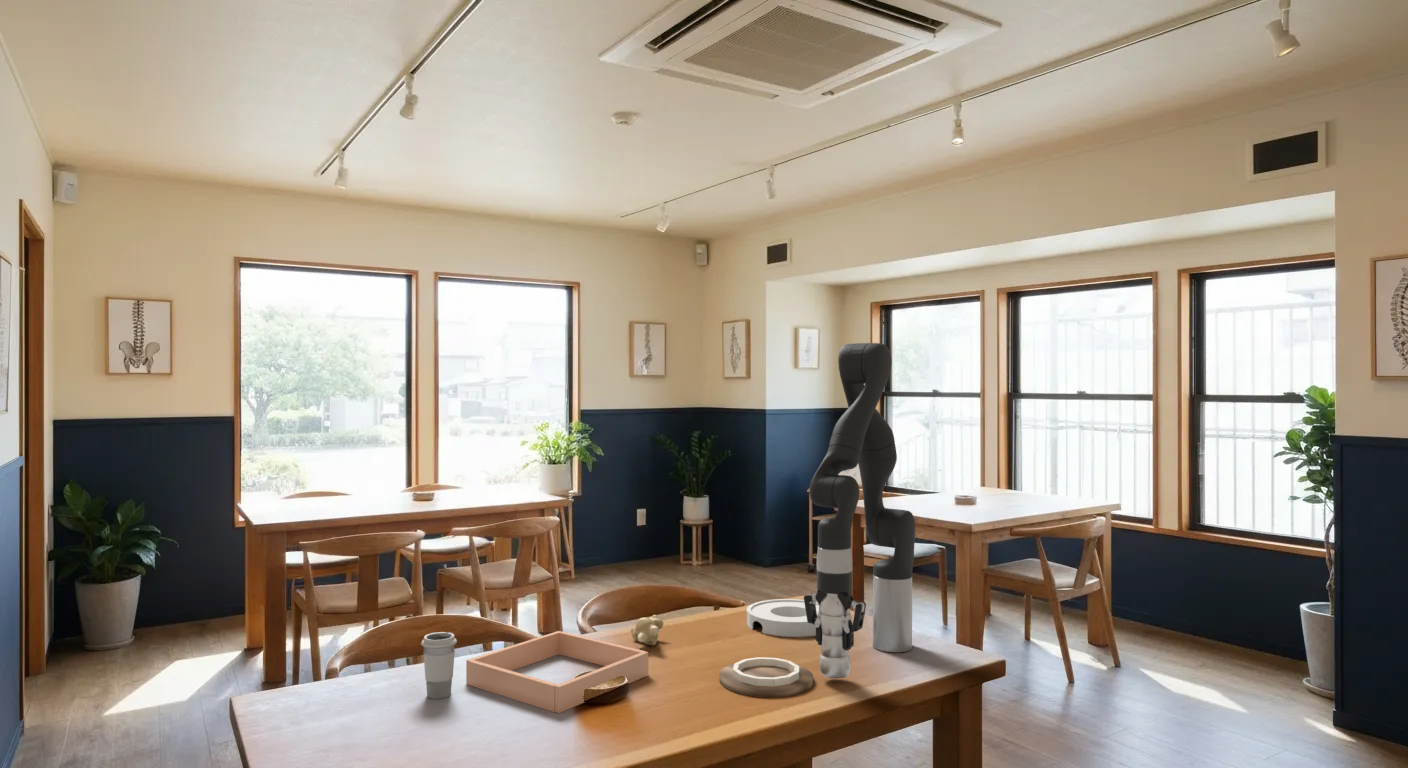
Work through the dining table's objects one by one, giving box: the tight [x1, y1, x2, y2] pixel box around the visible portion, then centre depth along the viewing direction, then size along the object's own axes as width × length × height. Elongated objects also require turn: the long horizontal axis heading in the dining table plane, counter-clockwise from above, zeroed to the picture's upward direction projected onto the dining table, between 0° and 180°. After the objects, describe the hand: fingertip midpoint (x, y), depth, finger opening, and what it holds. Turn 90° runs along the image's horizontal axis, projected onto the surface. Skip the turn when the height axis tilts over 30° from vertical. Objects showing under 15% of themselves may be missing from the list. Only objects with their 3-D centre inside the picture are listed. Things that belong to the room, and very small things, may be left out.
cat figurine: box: [630, 614, 664, 646], centre depth 216 cm, size 8×7×12 cm
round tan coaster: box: [718, 662, 814, 698], centre depth 191 cm, size 20×20×1 cm
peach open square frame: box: [465, 630, 649, 714], centre depth 191 cm, size 27×27×5 cm
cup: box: [420, 631, 458, 700], centre depth 182 cm, size 7×7×12 cm
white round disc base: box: [746, 598, 820, 638], centre depth 235 cm, size 23×23×4 cm
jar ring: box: [733, 656, 799, 686], centre depth 191 cm, size 14×14×2 cm
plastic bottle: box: [818, 593, 852, 679], centre depth 191 cm, size 6×7×20 cm
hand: (834, 646), depth 191 cm, fingers closed on plastic bottle, 5 cm apart
